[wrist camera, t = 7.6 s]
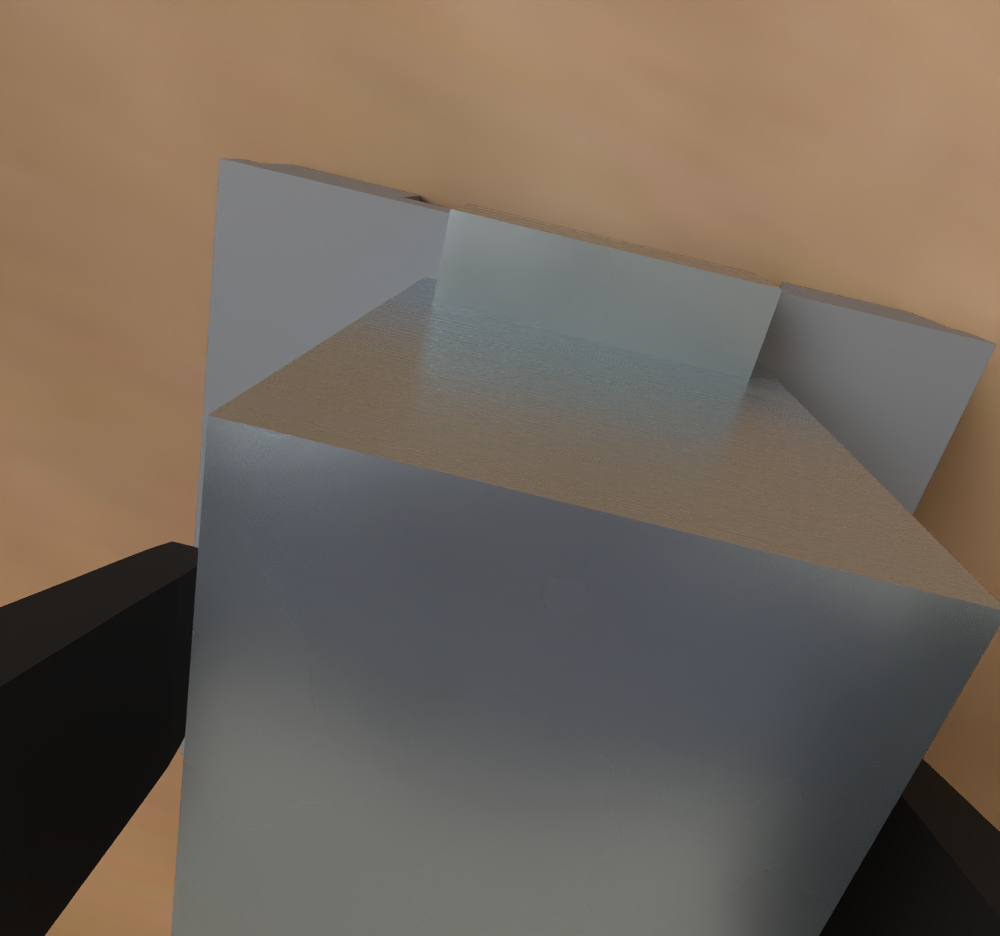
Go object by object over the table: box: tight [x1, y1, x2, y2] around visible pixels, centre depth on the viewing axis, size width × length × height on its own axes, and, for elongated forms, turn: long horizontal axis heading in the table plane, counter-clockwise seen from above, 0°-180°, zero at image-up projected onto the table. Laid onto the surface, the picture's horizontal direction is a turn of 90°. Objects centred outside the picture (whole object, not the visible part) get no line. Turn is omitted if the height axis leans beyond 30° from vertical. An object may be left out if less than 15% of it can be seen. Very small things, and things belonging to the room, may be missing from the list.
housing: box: [171, 204, 1000, 936], centre depth 8 cm, size 10×4×6 cm, turn 167°
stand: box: [181, 158, 996, 756], centre depth 12 cm, size 10×10×2 cm
